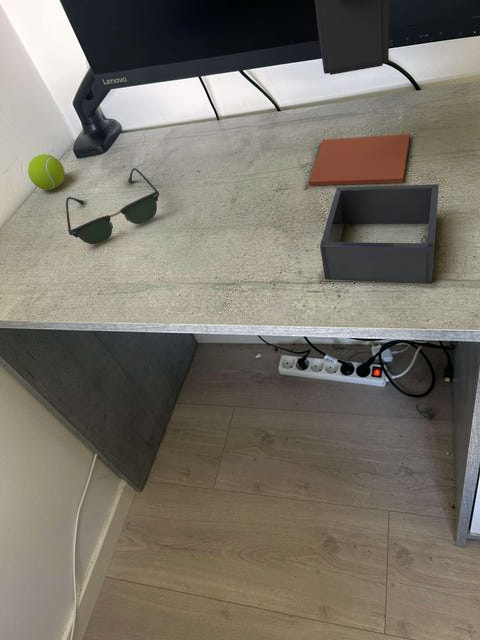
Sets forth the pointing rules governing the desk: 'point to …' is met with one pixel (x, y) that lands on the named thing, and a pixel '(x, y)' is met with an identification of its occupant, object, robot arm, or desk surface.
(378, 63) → the card reader
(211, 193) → the desk surface
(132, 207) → the sunglasses
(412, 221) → the grey open bin
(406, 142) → the mat
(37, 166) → the tennis ball
